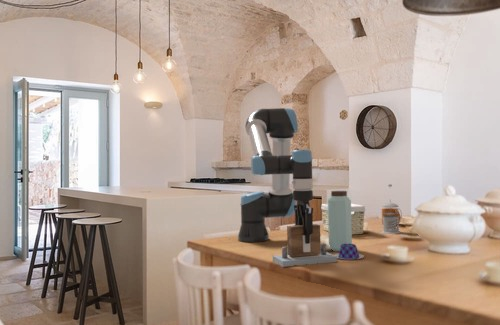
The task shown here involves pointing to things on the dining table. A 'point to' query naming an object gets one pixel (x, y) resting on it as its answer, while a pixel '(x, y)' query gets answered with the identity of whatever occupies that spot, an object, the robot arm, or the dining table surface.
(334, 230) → the water bottle
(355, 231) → the storage basket
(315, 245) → the wooden block
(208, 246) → the dining table surface
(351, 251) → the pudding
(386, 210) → the glass coffee carafe
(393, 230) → the french press
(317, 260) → the light blue peg stand
